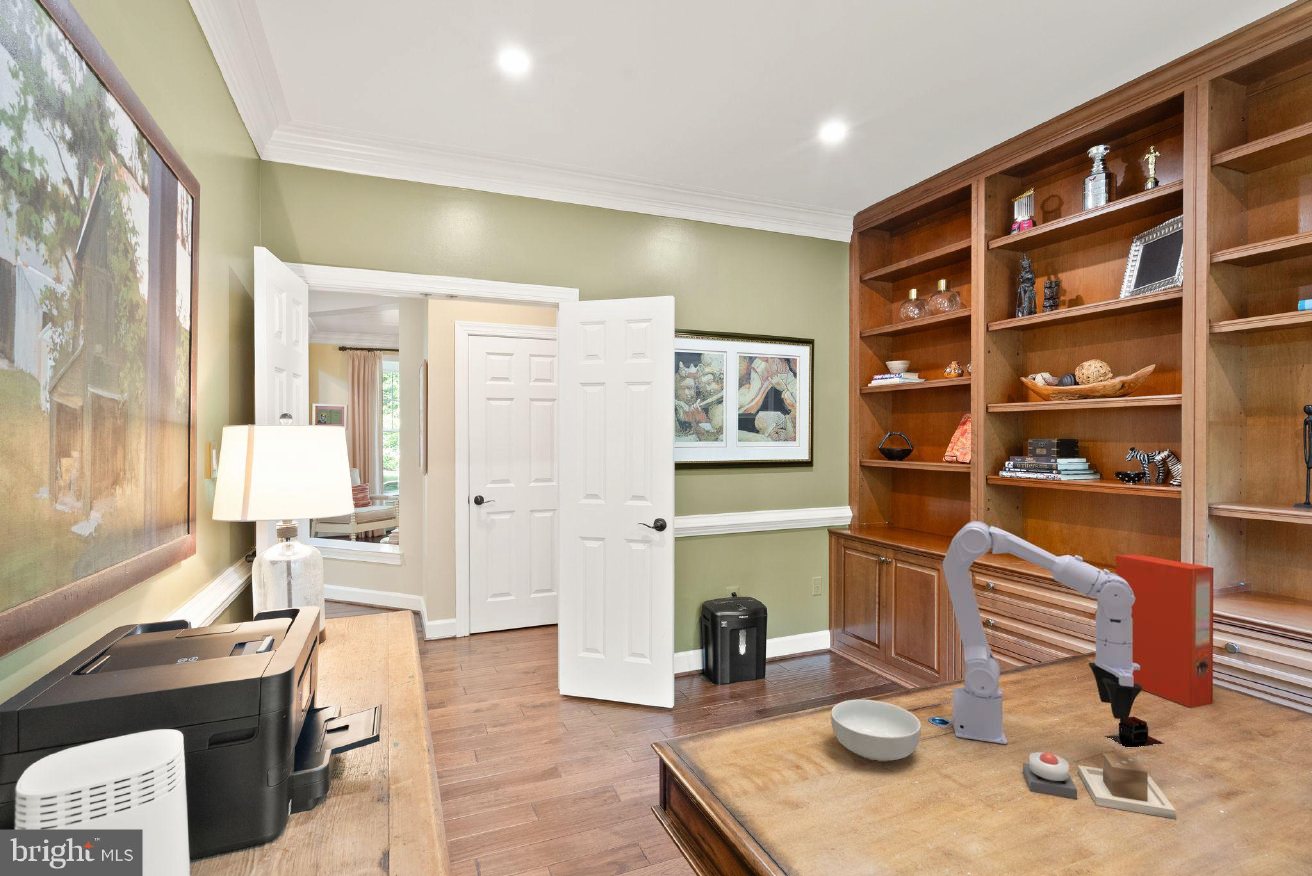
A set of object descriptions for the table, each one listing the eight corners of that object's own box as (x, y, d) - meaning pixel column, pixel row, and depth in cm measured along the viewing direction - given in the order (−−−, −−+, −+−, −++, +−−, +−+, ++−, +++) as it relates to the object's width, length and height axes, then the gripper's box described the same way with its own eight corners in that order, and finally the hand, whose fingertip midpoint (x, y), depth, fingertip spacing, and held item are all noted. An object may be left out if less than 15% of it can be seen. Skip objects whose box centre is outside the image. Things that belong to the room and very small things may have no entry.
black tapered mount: (1125, 754, 124) (1125, 731, 124) (1092, 737, 132) (1092, 715, 132) (1174, 746, 127) (1174, 724, 127) (1139, 730, 134) (1139, 709, 134)
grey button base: (1030, 790, 110) (1030, 781, 110) (1022, 770, 117) (1022, 762, 117) (1077, 798, 108) (1077, 789, 108) (1066, 778, 115) (1066, 769, 115)
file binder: (1137, 676, 163) (1137, 553, 163) (1213, 703, 147) (1213, 566, 147) (1114, 680, 161) (1114, 555, 161) (1189, 707, 144) (1189, 569, 144)
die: (1112, 795, 108) (1112, 766, 108) (1102, 780, 113) (1102, 752, 113) (1147, 801, 106) (1147, 771, 106) (1136, 786, 111) (1136, 757, 111)
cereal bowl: (869, 781, 114) (869, 742, 114) (814, 740, 129) (814, 706, 129) (940, 763, 120) (940, 726, 120) (880, 726, 135) (879, 693, 135)
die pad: (1096, 804, 106) (1096, 796, 106) (1078, 772, 116) (1078, 764, 116) (1175, 818, 102) (1175, 810, 102) (1150, 784, 113) (1150, 776, 113)
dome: (1033, 786, 111) (1033, 758, 111) (1026, 769, 116) (1026, 742, 116) (1072, 793, 109) (1072, 764, 109) (1064, 775, 114) (1064, 748, 114)
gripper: (1153, 654, 112) (1153, 729, 112) (1125, 630, 126) (1125, 698, 126) (1106, 649, 115) (1107, 723, 115) (1084, 626, 128) (1084, 693, 128)
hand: (1113, 710), depth 120 cm, fingers open, 7 cm apart
